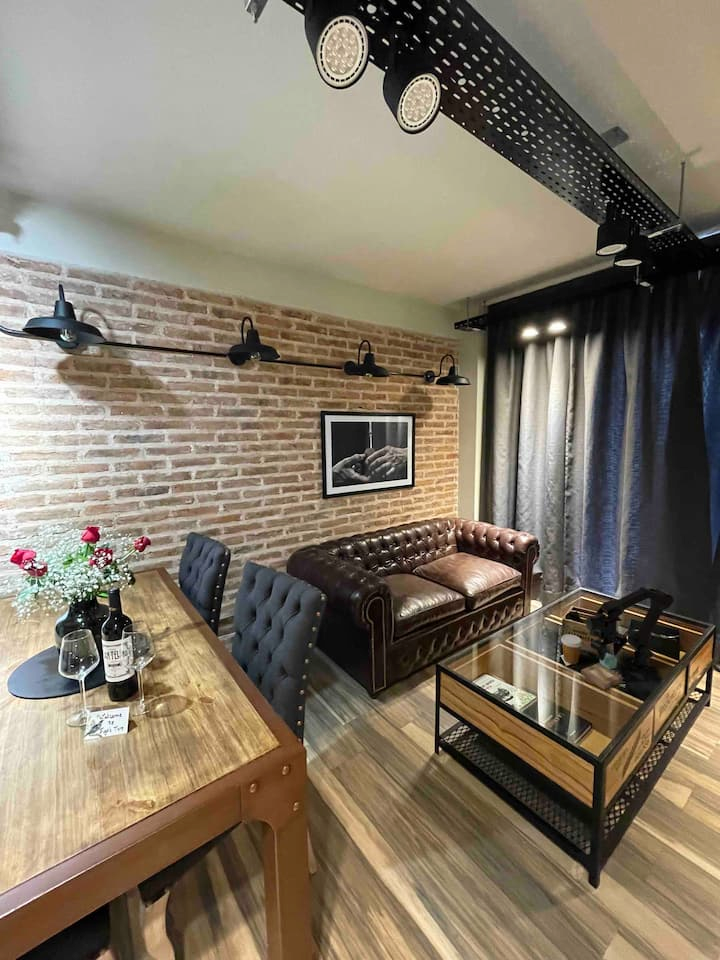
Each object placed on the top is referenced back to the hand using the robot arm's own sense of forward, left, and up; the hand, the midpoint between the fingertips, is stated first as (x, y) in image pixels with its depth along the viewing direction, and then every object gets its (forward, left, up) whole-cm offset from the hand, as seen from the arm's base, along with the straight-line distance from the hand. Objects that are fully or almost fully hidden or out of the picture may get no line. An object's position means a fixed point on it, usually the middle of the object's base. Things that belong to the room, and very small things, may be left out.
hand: (608, 657), depth 197 cm
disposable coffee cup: (+12, -11, -4) cm, 17 cm away
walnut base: (+11, +5, -4) cm, 13 cm away
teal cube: (0, 0, -4) cm, 4 cm away
